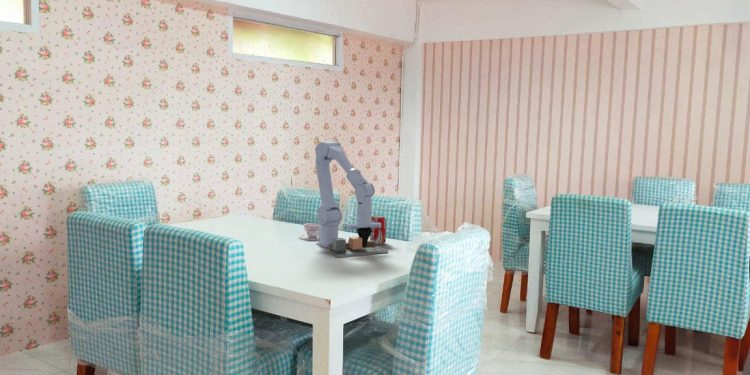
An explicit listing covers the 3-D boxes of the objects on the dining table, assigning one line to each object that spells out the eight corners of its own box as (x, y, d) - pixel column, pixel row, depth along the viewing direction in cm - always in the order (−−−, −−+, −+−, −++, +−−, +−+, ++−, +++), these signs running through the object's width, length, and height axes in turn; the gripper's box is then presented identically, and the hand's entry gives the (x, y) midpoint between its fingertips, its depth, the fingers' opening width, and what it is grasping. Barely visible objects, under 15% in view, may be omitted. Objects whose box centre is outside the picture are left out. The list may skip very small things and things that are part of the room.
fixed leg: (329, 249, 258) (329, 237, 257) (338, 248, 260) (338, 236, 259) (336, 252, 251) (336, 240, 251) (345, 251, 253) (346, 239, 253)
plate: (326, 251, 258) (326, 249, 258) (374, 247, 268) (374, 244, 268) (338, 257, 248) (338, 254, 247) (388, 252, 257) (388, 250, 257)
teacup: (331, 237, 290) (331, 224, 289) (314, 241, 280) (314, 227, 279) (310, 234, 296) (310, 221, 296) (293, 238, 286) (293, 224, 286)
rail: (328, 248, 259) (328, 244, 258) (372, 245, 268) (372, 240, 267) (330, 249, 257) (330, 244, 257) (374, 246, 266) (374, 241, 266)
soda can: (384, 245, 272) (384, 217, 271) (368, 244, 274) (368, 217, 273) (387, 242, 279) (387, 215, 278) (371, 241, 281) (371, 214, 279)
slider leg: (345, 247, 261) (345, 235, 260) (355, 246, 263) (355, 235, 262) (352, 251, 255) (353, 238, 254) (362, 250, 256) (362, 238, 256)
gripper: (352, 215, 251) (351, 249, 252) (384, 213, 257) (384, 246, 259) (344, 213, 257) (344, 246, 258) (376, 211, 263) (376, 243, 265)
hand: (363, 246), depth 259 cm, fingers closed
